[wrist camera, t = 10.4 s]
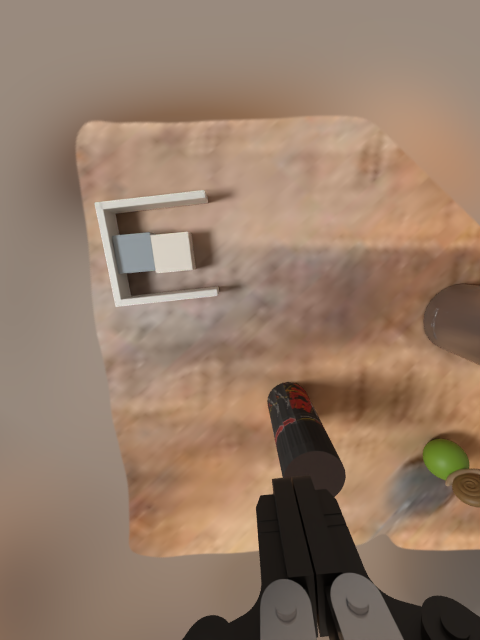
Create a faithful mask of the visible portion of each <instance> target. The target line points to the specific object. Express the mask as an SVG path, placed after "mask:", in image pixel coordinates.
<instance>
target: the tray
mask: <svg viewBox="0 0 480 640" xmlns="http://www.w3.org/2000/svg"><path fill="white" fill-rule="evenodd" d="M206 203H208V197H207V195H206V192H205V190H201V191H192V192H183V193H174V194H166V195H157V196H148V197H139V198H130V199H122V200H113V201H104V202H95V208H96V212H97V217H98V222H99V227H100V232H101V237H102V242H103V247H104V252H105V257H106V262H107V266H108V271H109V276H110V281H111V286H112V291H113V296H114V301H115V306H116V307H118V306H128V305H137V304H146V303H155V302H165V301H174V300H183V299H192V298H201V297H211V296H218V294H219V286H217V287H208V288H199V289H190V290H181V291H171V292H162V293H153V294H144V295H135V296H131V292H130V287H129V282H128V277H127V273H123V274H119V272H118V266H117V261H116V255H115V250H114V244H113V238H112V236H115V235H119V229H118V224H117V219H116V214H117V213H126V212H135V211H144V210H152V209H161V208H170V207H179V206H188V205H197V204H206Z"/></svg>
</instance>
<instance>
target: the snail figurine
mask: <svg viewBox="0 0 480 640" xmlns="http://www.w3.org/2000/svg"><path fill="white" fill-rule="evenodd" d="M423 460H424V463H425V465H426V466H427V468H428V469H429V470H430V471H431V472H432V473H433V474H434V475H435V476H437V477H439V478H441V479H444V480H446V486H451V485H452V489H453V492H454V494H455V495H456V496H457V497H458V498H459V499H460V500H461V501H462V502H464V503H466V504H468V505H470V506H474V507H480V469H469V460H468V457H467V455H466V453H465V452H464V450H463V449H462V448H461V447H460V446H458V445H457V444H456V443H454V442H452V441H449V440H446V439H435V440H432V441H430V442H429V443H427V444H426V446H425V447H424V450H423Z"/></svg>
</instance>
